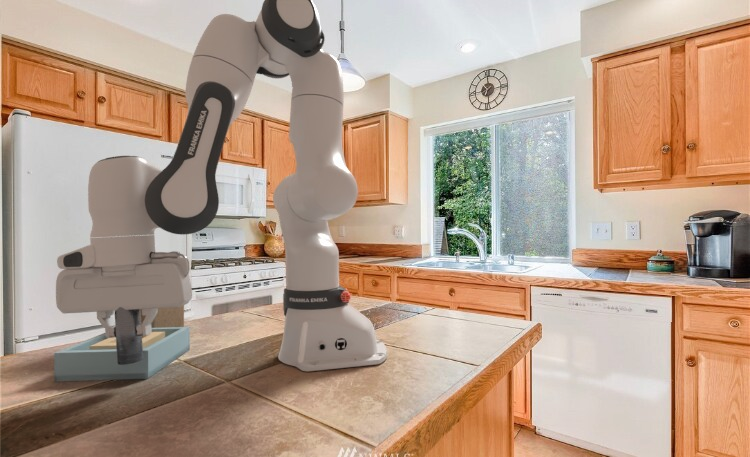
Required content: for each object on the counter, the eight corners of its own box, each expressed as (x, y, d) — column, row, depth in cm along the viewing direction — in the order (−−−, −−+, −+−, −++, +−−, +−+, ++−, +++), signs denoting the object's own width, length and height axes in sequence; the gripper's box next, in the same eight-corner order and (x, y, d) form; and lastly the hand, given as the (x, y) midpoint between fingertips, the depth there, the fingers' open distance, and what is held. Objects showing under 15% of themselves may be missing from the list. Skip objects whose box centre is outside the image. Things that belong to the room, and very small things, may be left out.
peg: (147, 356, 62) (144, 298, 62) (134, 363, 59) (131, 303, 59) (126, 357, 62) (123, 299, 62) (112, 365, 59) (108, 304, 59)
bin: (189, 349, 80) (189, 326, 80) (148, 378, 64) (148, 350, 64) (115, 351, 79) (114, 328, 79) (54, 381, 63) (54, 353, 63)
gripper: (196, 249, 64) (200, 326, 64) (76, 255, 63) (81, 333, 63) (179, 252, 58) (183, 337, 58) (45, 258, 57) (50, 346, 57)
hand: (129, 335), depth 61 cm, fingers closed on peg, 4 cm apart
